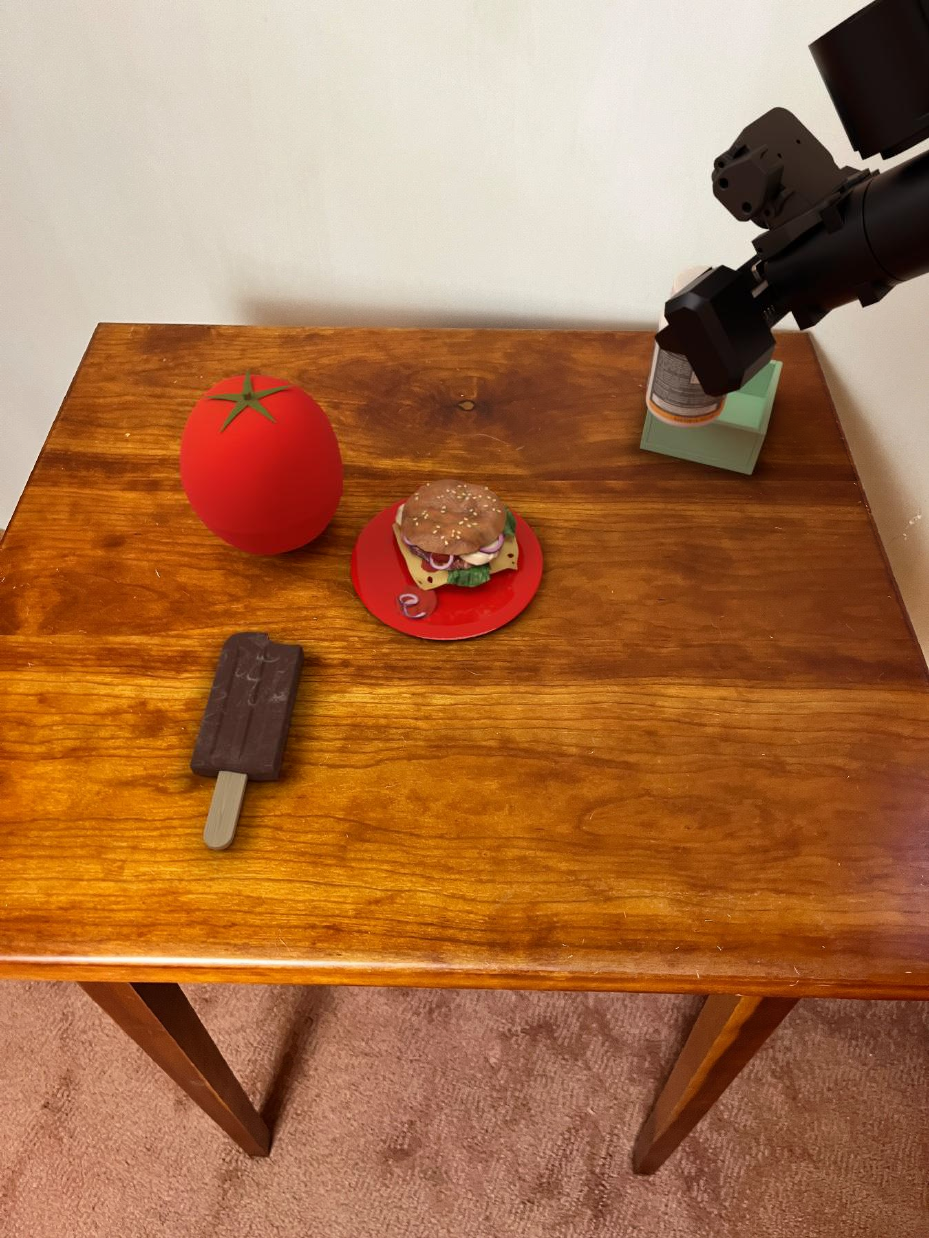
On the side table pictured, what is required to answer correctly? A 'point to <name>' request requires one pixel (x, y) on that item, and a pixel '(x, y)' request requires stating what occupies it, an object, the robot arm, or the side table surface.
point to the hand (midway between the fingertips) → (684, 320)
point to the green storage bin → (722, 428)
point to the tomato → (261, 464)
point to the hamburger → (447, 562)
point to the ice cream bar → (245, 724)
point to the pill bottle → (679, 379)
